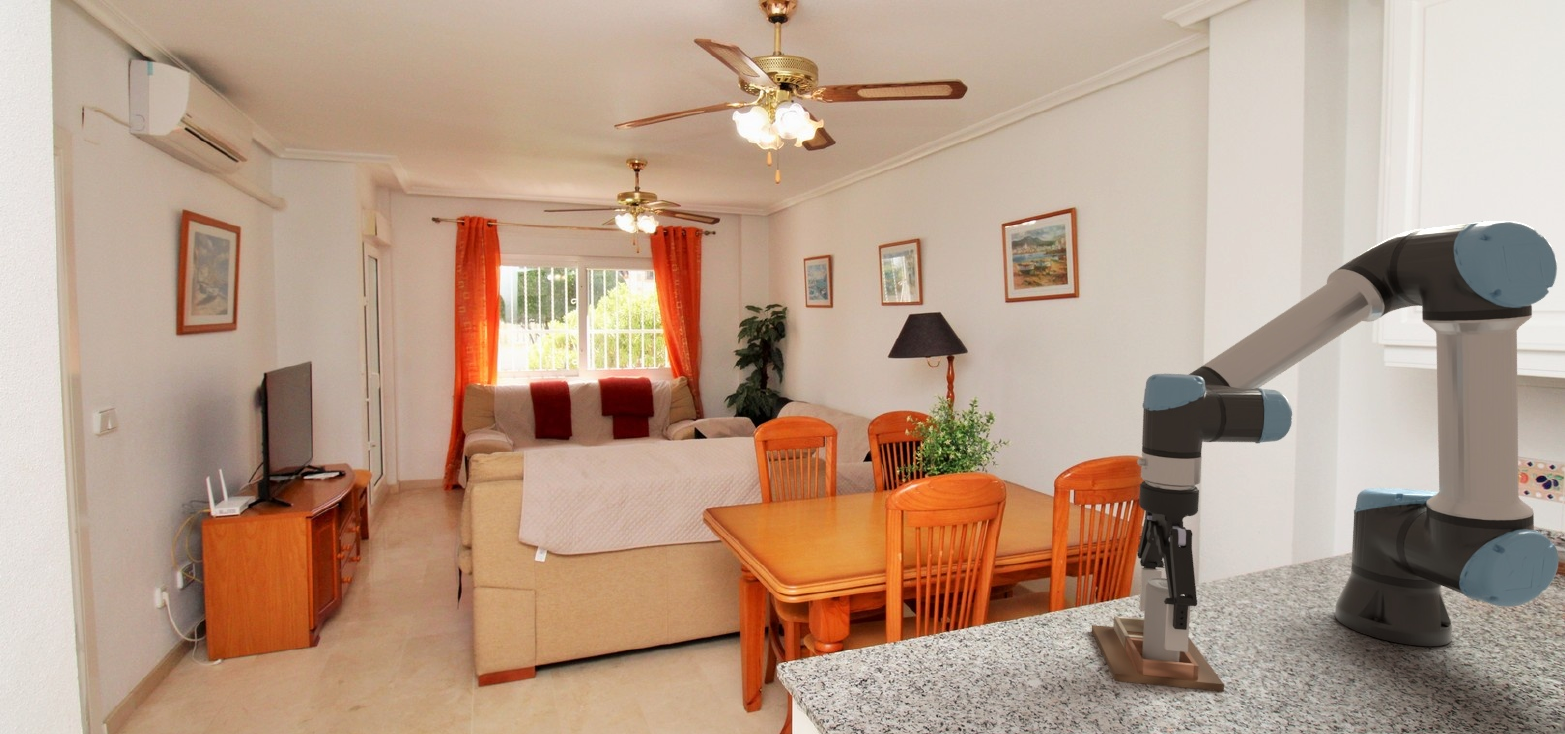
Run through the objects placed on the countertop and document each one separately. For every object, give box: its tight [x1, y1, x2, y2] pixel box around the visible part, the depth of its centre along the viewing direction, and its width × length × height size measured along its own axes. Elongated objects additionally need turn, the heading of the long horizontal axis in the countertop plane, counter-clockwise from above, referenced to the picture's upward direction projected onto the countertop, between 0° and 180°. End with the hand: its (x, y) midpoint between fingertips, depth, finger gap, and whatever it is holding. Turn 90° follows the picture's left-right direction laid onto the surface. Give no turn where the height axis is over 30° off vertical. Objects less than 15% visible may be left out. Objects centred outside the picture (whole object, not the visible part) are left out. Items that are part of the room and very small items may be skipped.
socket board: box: [1091, 615, 1225, 692], centre depth 116 cm, size 14×17×3 cm
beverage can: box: [1142, 577, 1184, 662], centre depth 112 cm, size 5×5×12 cm
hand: (1161, 629), depth 112 cm, fingers open, 13 cm apart
